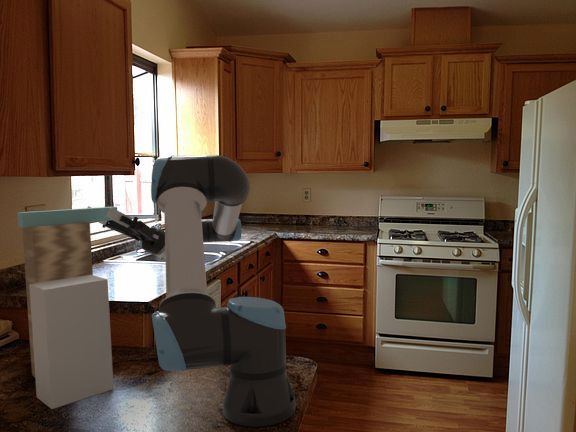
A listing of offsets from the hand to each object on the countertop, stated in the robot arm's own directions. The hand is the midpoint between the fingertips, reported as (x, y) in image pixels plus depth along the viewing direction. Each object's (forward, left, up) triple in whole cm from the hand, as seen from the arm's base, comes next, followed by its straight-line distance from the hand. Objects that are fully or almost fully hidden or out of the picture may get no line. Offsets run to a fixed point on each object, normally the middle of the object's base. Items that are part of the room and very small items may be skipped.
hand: (97, 211), depth 136 cm
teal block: (-2, +7, -3) cm, 8 cm away
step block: (-19, +12, -41) cm, 46 cm away
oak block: (-2, +11, -41) cm, 42 cm away
